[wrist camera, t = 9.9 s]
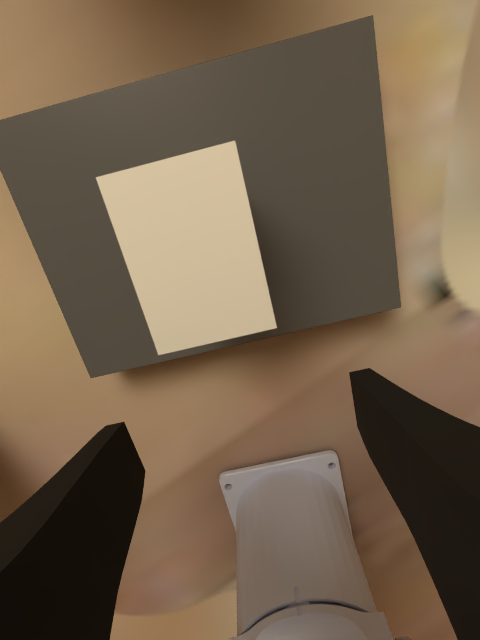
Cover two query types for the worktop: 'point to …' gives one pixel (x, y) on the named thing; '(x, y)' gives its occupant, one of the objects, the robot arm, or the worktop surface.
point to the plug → (191, 247)
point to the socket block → (259, 177)
